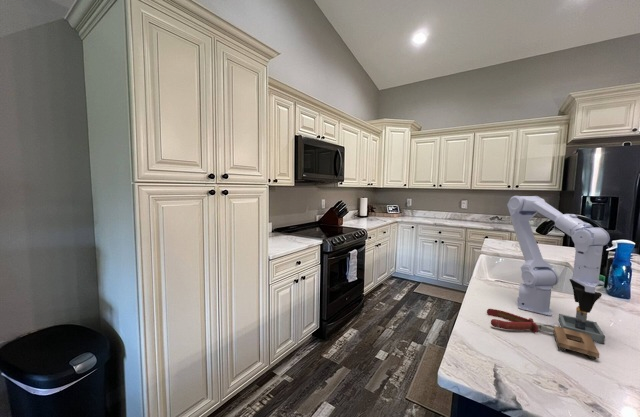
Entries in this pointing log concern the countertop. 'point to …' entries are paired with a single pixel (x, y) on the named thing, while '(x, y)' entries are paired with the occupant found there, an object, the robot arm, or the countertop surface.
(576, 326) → the stop pin
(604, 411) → the countertop surface
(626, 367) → the countertop surface
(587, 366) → the countertop surface
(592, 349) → the brown frame
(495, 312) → the pliers
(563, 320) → the tray
